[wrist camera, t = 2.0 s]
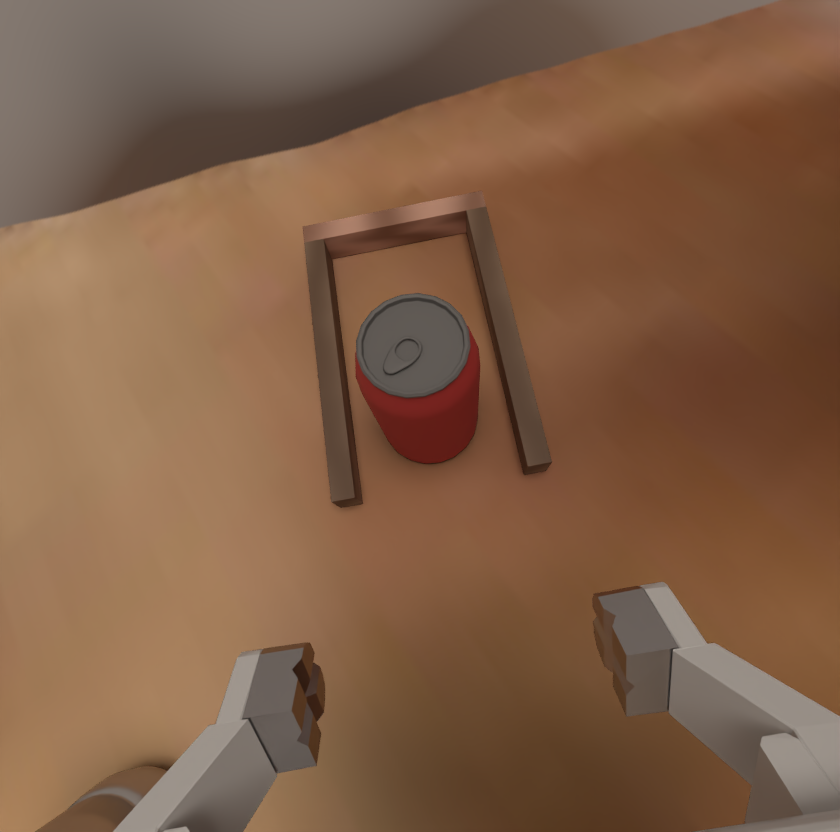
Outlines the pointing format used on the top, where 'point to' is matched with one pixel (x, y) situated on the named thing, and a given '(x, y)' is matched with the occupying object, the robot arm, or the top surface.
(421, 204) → the walnut channel
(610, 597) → the robot arm
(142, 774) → the plastic bottle
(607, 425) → the top surface
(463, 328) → the beer can
